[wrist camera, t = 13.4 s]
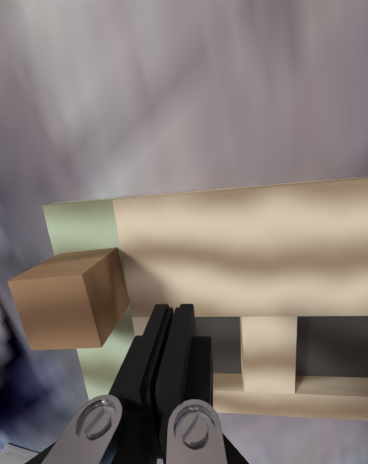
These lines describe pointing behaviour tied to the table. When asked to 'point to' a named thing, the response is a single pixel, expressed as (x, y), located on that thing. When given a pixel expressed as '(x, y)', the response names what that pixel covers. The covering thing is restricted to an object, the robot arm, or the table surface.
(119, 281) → the walnut cube
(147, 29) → the table surface
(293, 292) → the board
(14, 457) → the supplement box
